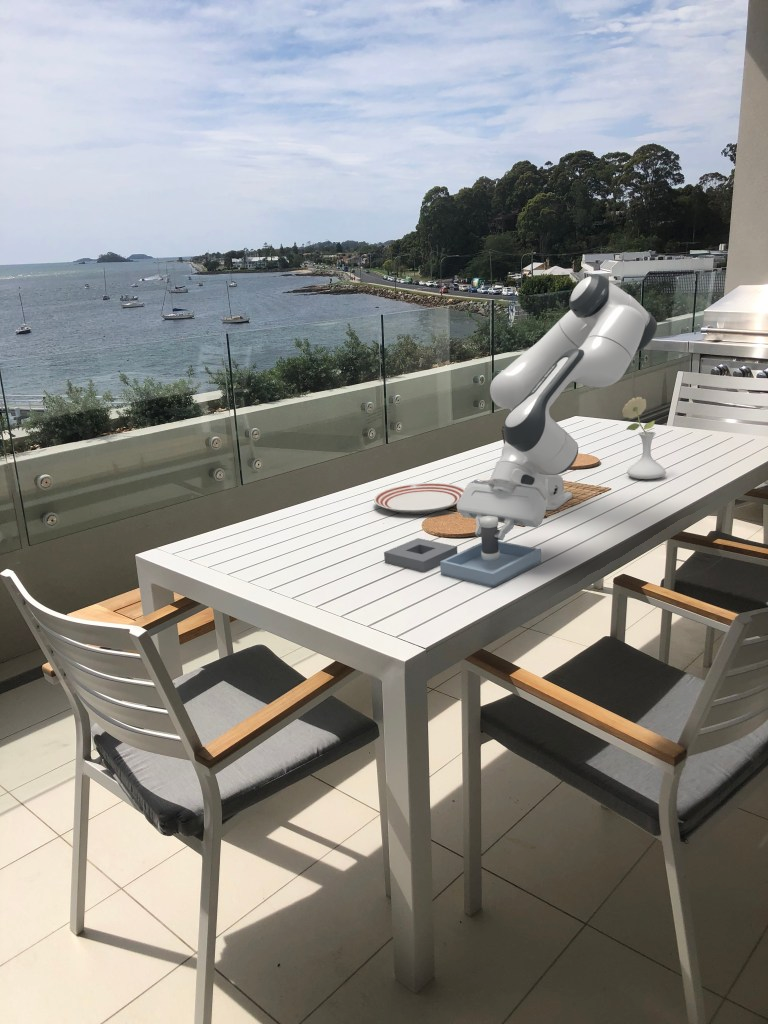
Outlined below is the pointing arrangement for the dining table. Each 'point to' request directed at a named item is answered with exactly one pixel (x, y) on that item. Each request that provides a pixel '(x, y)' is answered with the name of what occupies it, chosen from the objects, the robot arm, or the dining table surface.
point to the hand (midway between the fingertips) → (488, 537)
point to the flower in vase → (646, 464)
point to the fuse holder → (419, 554)
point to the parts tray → (490, 564)
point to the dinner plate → (419, 497)
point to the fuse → (489, 538)
